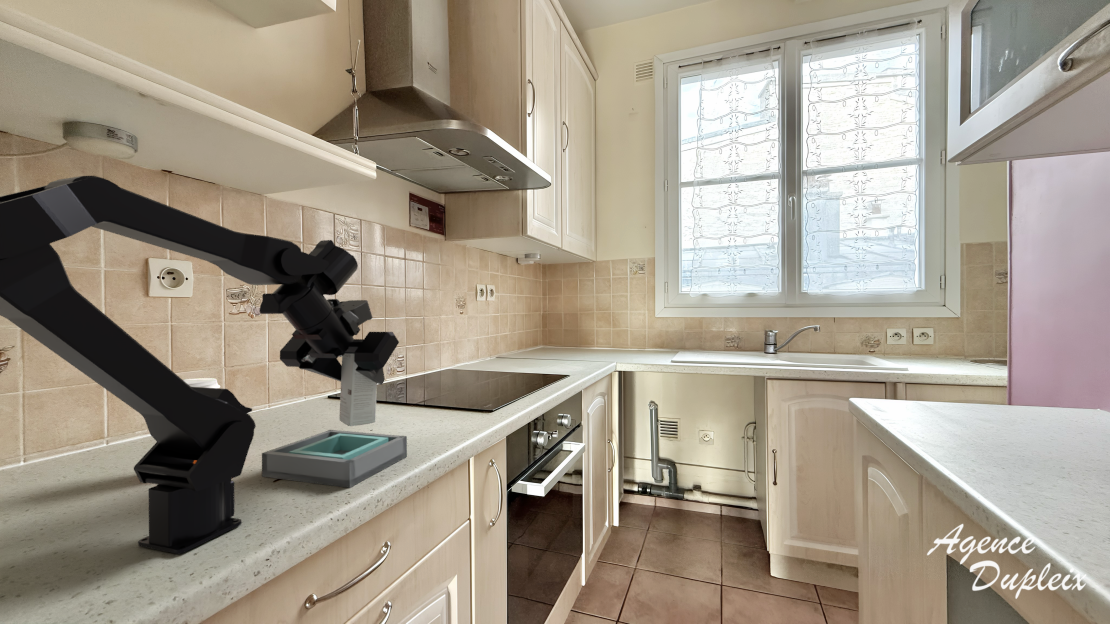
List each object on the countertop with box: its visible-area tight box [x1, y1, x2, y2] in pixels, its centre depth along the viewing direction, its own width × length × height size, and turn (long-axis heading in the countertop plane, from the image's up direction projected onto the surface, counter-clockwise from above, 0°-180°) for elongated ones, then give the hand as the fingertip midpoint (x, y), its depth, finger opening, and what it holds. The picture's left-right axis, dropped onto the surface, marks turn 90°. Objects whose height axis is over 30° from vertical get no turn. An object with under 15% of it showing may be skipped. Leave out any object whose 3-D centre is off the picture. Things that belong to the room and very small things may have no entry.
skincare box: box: [338, 354, 378, 427], centre depth 71 cm, size 6×4×12 cm
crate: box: [261, 429, 408, 489], centre depth 67 cm, size 13×16×4 cm
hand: (364, 381), depth 72 cm, fingers closed on skincare box, 7 cm apart
